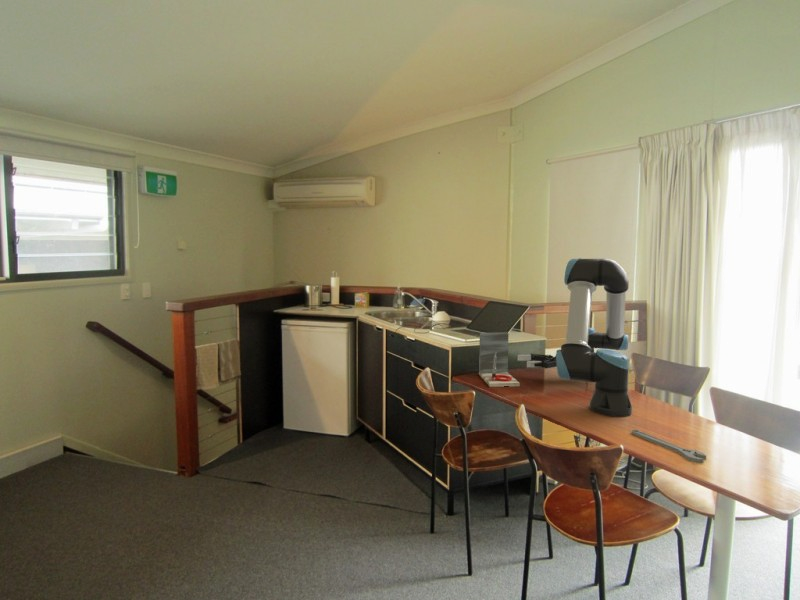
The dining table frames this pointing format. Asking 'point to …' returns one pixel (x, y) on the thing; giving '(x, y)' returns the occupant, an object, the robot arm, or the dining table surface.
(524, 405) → the dining table surface
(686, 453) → the adjustable wrench
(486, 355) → the grey l-shaped piece
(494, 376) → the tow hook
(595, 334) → the robot arm
